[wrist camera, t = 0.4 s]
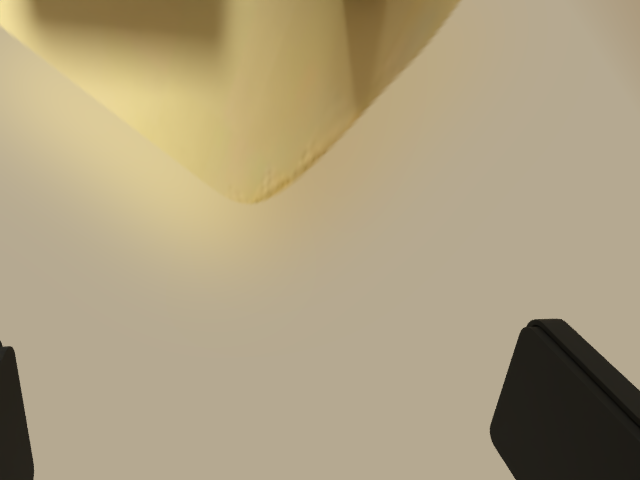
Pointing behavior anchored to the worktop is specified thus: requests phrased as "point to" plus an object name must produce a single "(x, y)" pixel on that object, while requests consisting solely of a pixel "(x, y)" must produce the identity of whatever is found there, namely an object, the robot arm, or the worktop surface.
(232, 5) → the worktop surface
